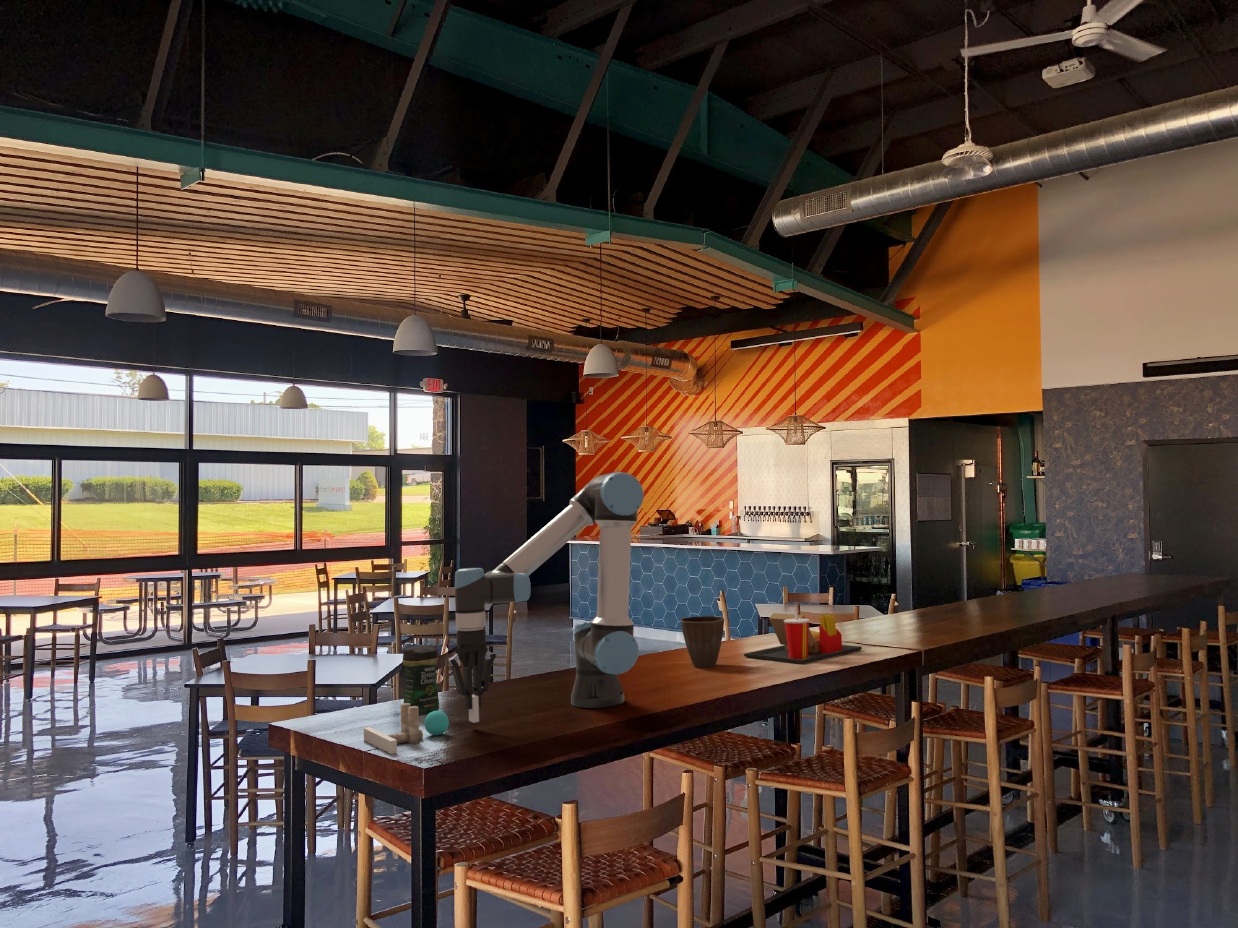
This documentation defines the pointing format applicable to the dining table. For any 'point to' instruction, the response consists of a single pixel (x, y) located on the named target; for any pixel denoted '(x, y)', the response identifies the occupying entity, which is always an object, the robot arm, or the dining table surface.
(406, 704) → the pin
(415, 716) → the pin
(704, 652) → the plant pot
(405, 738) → the front pin
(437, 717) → the ball
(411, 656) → the coffee jar
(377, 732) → the back wall
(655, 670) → the dining table surface
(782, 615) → the fast food meal
